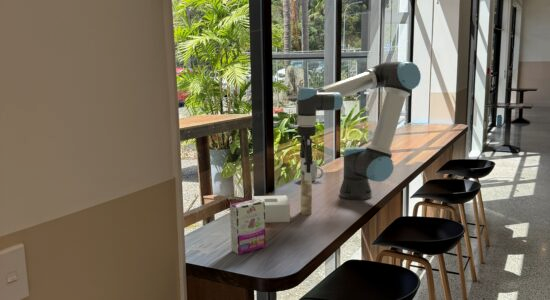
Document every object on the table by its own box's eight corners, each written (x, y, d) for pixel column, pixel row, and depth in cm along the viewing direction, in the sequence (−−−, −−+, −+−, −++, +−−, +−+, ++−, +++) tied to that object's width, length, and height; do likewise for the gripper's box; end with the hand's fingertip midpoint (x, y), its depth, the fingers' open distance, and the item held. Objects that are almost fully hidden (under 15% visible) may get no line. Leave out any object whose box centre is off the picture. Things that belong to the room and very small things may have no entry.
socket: (286, 211, 208) (286, 195, 207) (289, 221, 194) (289, 204, 193) (253, 212, 207) (253, 196, 206) (254, 222, 193) (254, 205, 192)
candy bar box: (257, 243, 171) (257, 198, 168) (266, 247, 167) (265, 201, 164) (230, 250, 164) (229, 203, 162) (238, 255, 160) (237, 207, 158)
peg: (310, 211, 208) (310, 169, 205) (311, 214, 204) (311, 172, 201) (300, 211, 208) (300, 170, 205) (301, 214, 204) (302, 172, 200)
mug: (297, 181, 261) (297, 163, 260) (304, 177, 269) (304, 160, 268) (320, 183, 256) (320, 165, 254) (326, 180, 264) (326, 162, 262)
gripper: (293, 122, 211) (293, 170, 215) (301, 129, 187) (300, 183, 190) (311, 122, 212) (310, 170, 215) (320, 129, 187) (319, 183, 191)
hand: (305, 176), depth 203 cm, fingers open, 13 cm apart
